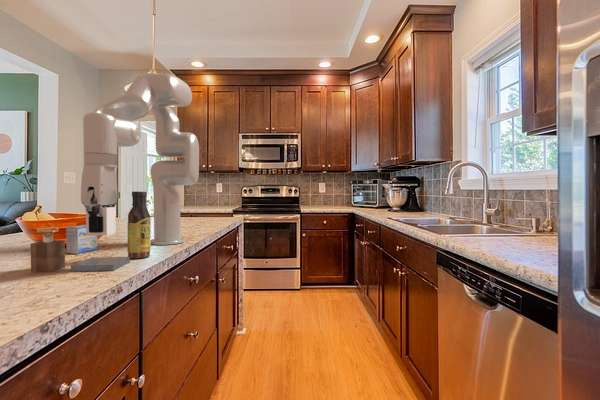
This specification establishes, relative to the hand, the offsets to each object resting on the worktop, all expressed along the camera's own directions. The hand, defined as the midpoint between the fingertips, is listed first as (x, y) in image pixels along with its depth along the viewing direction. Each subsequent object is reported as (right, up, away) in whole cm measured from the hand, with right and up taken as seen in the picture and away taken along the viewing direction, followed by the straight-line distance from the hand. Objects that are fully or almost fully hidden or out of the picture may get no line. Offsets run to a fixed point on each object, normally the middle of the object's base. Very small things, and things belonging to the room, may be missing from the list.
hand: (101, 230), depth 87 cm
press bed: (0, -10, 0) cm, 10 cm away
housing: (0, -1, 0) cm, 1 cm away
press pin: (-12, -6, -3) cm, 13 cm away
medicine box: (-19, -9, +21) cm, 30 cm away
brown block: (-12, -10, -3) cm, 15 cm away
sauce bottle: (+4, -10, +13) cm, 16 cm away
